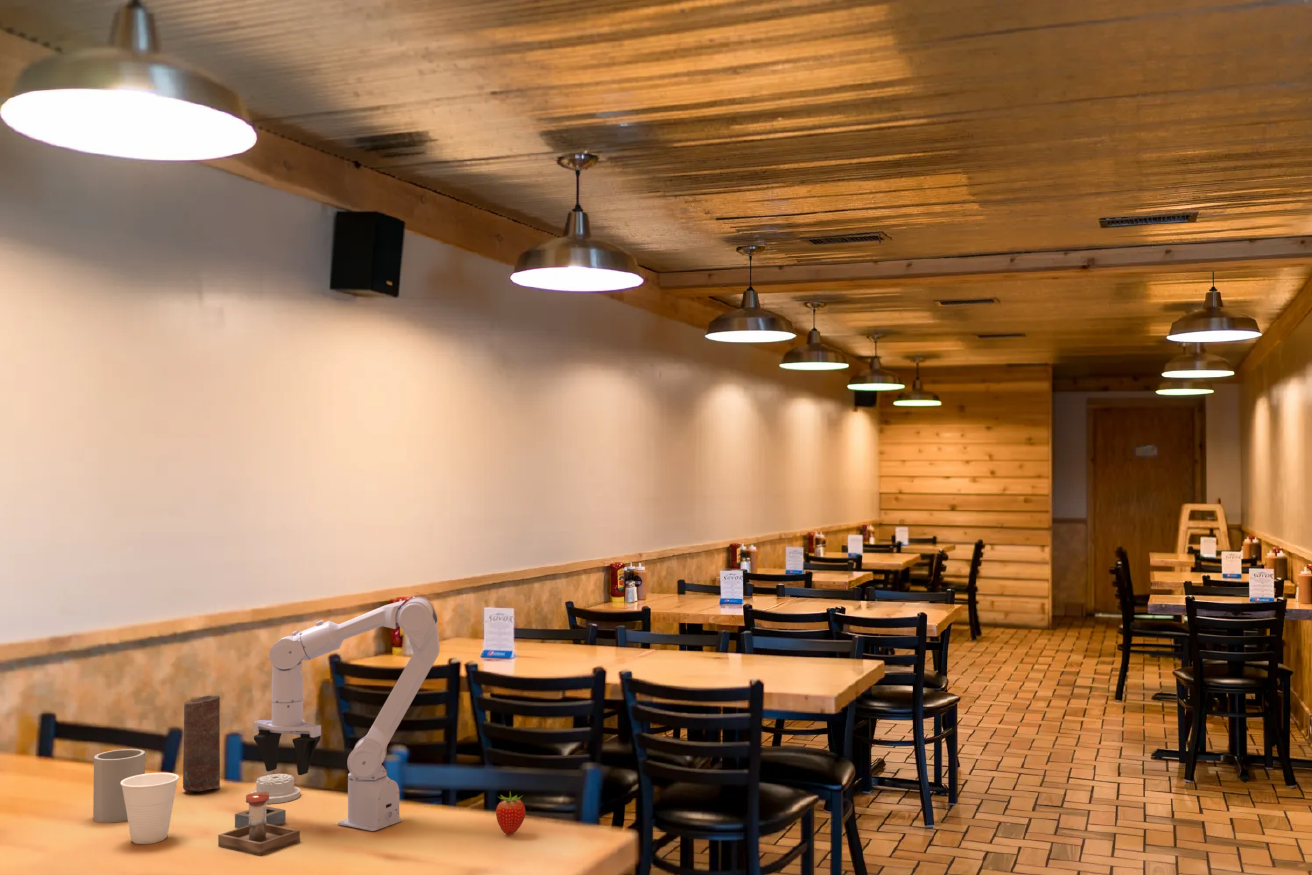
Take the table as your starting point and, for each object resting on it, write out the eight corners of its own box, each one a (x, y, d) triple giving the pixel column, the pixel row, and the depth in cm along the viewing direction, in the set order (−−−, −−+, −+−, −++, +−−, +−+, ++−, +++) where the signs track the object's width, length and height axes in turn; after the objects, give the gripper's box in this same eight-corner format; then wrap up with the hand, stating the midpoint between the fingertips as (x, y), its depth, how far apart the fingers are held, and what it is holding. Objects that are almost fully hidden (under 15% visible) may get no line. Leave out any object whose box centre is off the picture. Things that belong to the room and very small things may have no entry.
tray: (299, 841, 209) (299, 830, 209) (260, 855, 201) (260, 843, 201) (258, 832, 214) (258, 821, 215) (218, 846, 207) (218, 834, 207)
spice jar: (271, 835, 211) (271, 791, 211) (266, 842, 207) (266, 797, 207) (248, 836, 210) (249, 792, 210) (243, 843, 206) (243, 798, 207)
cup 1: (82, 819, 224) (83, 757, 224) (120, 807, 232) (120, 747, 233) (117, 824, 221) (118, 761, 221) (154, 811, 229) (155, 751, 230)
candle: (211, 795, 240) (211, 699, 241) (176, 796, 241) (177, 699, 241) (225, 786, 248) (225, 693, 249) (191, 786, 248) (192, 693, 249)
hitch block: (285, 823, 220) (285, 809, 220) (258, 832, 215) (258, 818, 215) (262, 818, 224) (262, 805, 224) (234, 827, 218) (234, 813, 218)
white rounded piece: (242, 805, 234) (290, 805, 234) (242, 783, 234) (290, 783, 234) (261, 792, 244) (307, 792, 244) (261, 771, 244) (307, 771, 244)
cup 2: (121, 851, 204) (121, 788, 205) (118, 836, 213) (119, 776, 213) (181, 842, 209) (181, 781, 209) (176, 828, 218) (176, 769, 218)
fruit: (513, 828, 215) (513, 785, 216) (530, 834, 212) (530, 791, 212) (490, 835, 212) (490, 791, 212) (507, 841, 208) (507, 796, 208)
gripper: (331, 699, 220) (331, 770, 220) (272, 694, 226) (271, 763, 225) (306, 705, 214) (306, 779, 213) (246, 700, 219) (245, 772, 219)
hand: (287, 772), depth 219 cm, fingers open, 7 cm apart
